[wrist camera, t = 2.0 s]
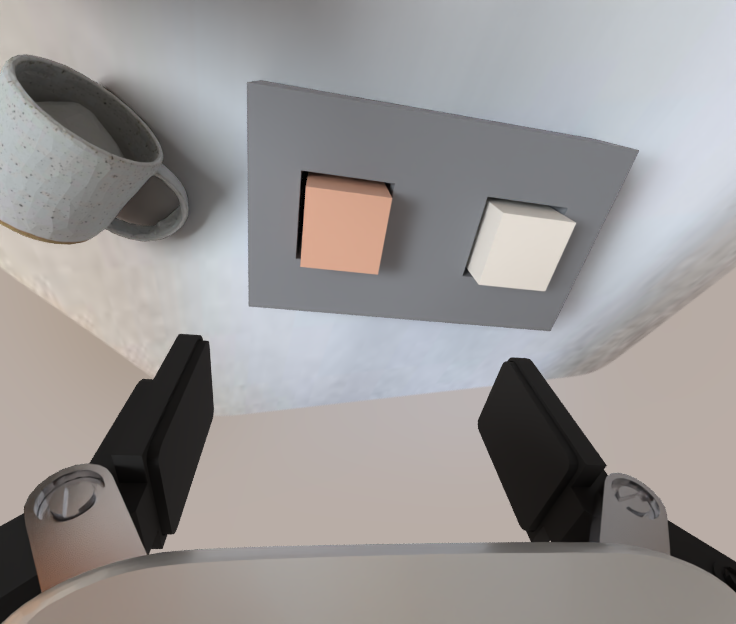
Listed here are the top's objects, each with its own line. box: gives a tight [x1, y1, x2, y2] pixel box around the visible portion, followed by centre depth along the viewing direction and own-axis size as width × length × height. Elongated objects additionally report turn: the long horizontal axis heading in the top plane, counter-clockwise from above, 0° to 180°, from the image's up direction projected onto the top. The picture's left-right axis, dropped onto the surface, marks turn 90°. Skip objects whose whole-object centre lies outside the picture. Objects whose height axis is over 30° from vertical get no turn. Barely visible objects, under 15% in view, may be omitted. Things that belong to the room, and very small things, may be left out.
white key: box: [466, 197, 576, 291], centre depth 27 cm, size 5×5×5 cm
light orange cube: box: [300, 171, 392, 275], centre depth 25 cm, size 5×5×5 cm
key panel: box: [247, 80, 639, 331], centre depth 28 cm, size 24×14×5 cm, turn 81°
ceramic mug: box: [0, 55, 189, 244], centre depth 23 cm, size 11×8×8 cm
